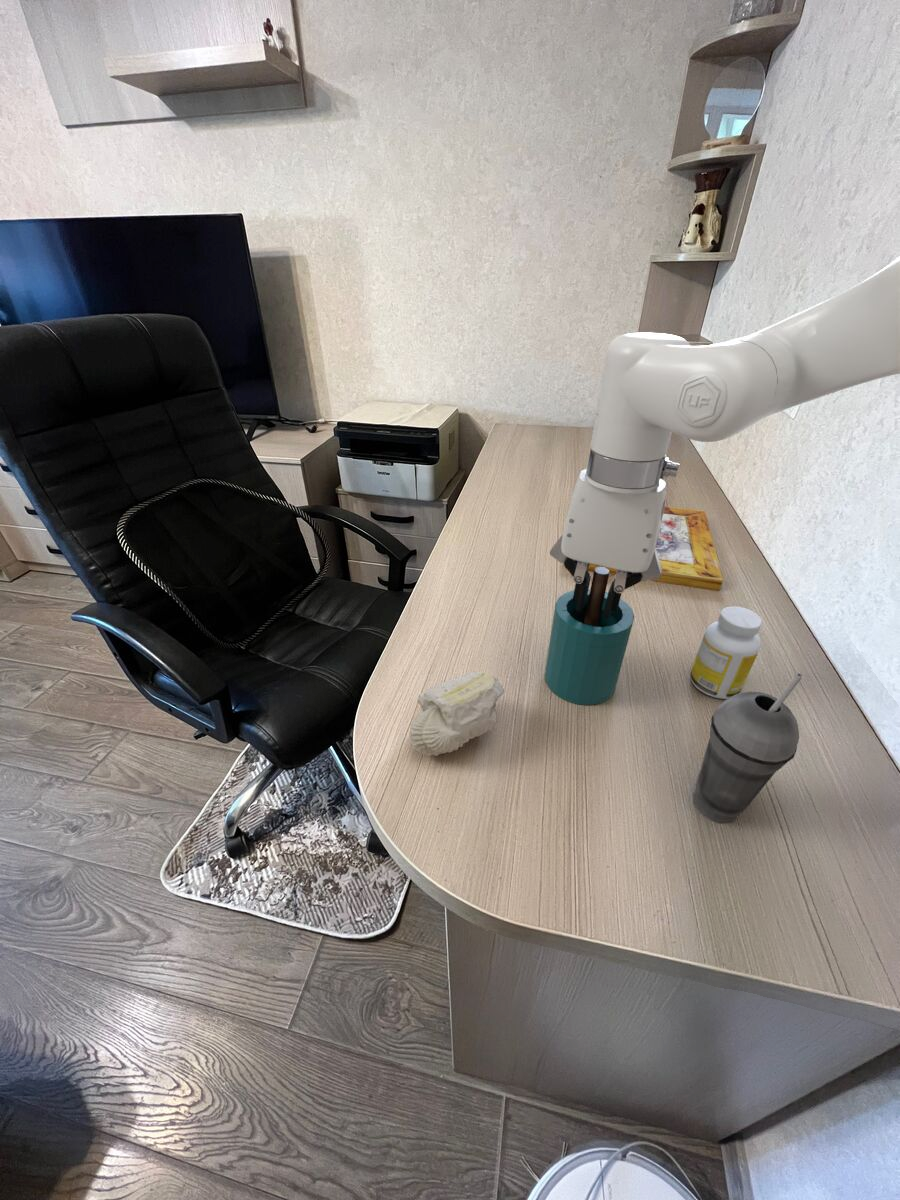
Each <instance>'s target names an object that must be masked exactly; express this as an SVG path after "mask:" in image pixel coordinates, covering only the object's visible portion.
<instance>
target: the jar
mask: <svg viewBox="0 0 900 1200" xmlns="http://www.w3.org/2000/svg"><path fill="white" fill-rule="evenodd" d="M574 590H575V589H574ZM574 590H571V591H567V592H565V593H563V594H562V595H560V596H559V597H558V598H557V600H556V602H555V605H554V611H553V616H552V617H553V618H552V623H551V630H550V637H549V642H548V651H547V657H546V662H545V672H544V679H545V683H546V684H547V686H548V688H549V689H550V690H551V691H552V693H553V694H555V695H556V696H557V697H559V698H560V699H562V700H564V701H567V702H569V703H571V704H575V705H580V706H593V705H599V704H602V703H605V702H606V701H608V700H609V699H611V698H612V696H613V695H614V693H615V691H616V688H617V684H618V680H619V676H620V673H621V669H622V665H623V662H624V658H625V655H626V651H627V646H628V643H629V640H630V635H631V631H632V628H633V625H634V620H635V614H634V611H633V609H632V607H631V606H630V605H629V604H628V603H627V602H626V601H625V600H623V599H622V598H620V602H619V606H618V609H617V611H613V610H611V613H610V616H609V619H605V618H604V617H603V614H604V609H605V605H606V600H607V596H608V592H607V591H606V592H605V596H604V601H603V606H602V610H601V615H600V619H599V624H598V627H593V626H590V625H586V624H584V620H585V614H586V609H587V604H588V599H589V594H590V589H589V590H588V595H587V599H586V602H585V605H584V607H583V610H582V612H581V611H580V612H577V611H576V606H577V602H576V601H573V595H574Z"/></svg>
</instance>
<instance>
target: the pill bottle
mask: <svg viewBox="0 0 900 1200" xmlns="http://www.w3.org/2000/svg"><path fill="white" fill-rule="evenodd" d="M762 624H763V620H762V618H761V617H760V615H758V614H757V613H756V612H755V611H752V609H751V610H750V609H748V608H746V607H741V606H731V605H729V606H726V607H723V608H722V609H721V611H720V613H719V615H718V618H717V621H714V622H712V623H710V624H709V625H708V626H707V628H706V629H705V631H704V634H703V636H702V639H701V642H700V645H699V647H698V651H697V653H696V656H695V659H694V662H693V665H692V667H691V670H690V673H689V674H690V675H689V677H690V680H691V683H692V685H694V687H695V688H696V689H697V690H699V691H700V692H702V693H703V694H704V695H707V696H709V697H712V698H716V699H721V700H723V699H724V700H727V699H728V698H730V697H732V696H733V695H736V694H738V693H741V691H742V689H743V687H744V685H745V683H746V680H747V679H748V676H749V674H750V672H751V670H752V667H753V665H754V664H755V661H756V658H757V657H758V654H759V652H760V650H761V647H762V642H761V641H762V640H761V638H760V636H759V635H758V633H760V629H761V627H762Z"/></svg>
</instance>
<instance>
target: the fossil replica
mask: <svg viewBox="0 0 900 1200" xmlns="http://www.w3.org/2000/svg"><path fill="white" fill-rule="evenodd" d="M504 693H505V688H504V686H503V685H502V684H501V682H500V681H499V680H498V678H497V677H496V676H495V675H494V674H493V673H489V672H481V671H473V672H469V673H467V674H464V675H461V676H458V677H455V678H453V679H450V680H448V681H445V682H441V683H438V684H436V685H434V686H431V687H428V688H427V689H425V691H423V692H422V693H419V694H418V696H417V697H418V698H417V703H418V705H419V706H420V710H421V712H420V713H418V716H416V718H414V719H413V721H412V722H411V724H410V729H409V739H410V745H411V746H412V747H413V749H414V750H415V751H418V752H419V754H421V755H424V754H425V755H426V756H428V757H430V756H435V757H438V756H439V755H441V754H444V755H445V754H446V753H452V752H453V751H458V749H459V747H460V748H463V746H464V744H466V743H469V741H470V740H472V739H475V738H476V737H480V736H482V735H484V734H486V733H487V732H490V731H491V730H493V729H494V727H495V726H496V724H497V722H496V721H497V711H496V706H497V701H498V700H499V699H500V697H502V696H503V695H504Z"/></svg>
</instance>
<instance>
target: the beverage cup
mask: <svg viewBox="0 0 900 1200" xmlns="http://www.w3.org/2000/svg"><path fill="white" fill-rule="evenodd" d="M803 678H804V675H803V674H802V673H801V672H797V673H796V674H795V676H793V678H792V679H791V681H790V682H789V683H788V685H786V687H785V688H784V690H783V691H782V692H781V694H780V695H779V696H778V697H776V696H773V695H771V694H769V693H765V692H761V691H752V690H751V691H749V690H748V691H744V692H740V693H738V694H736V695H733V696H732V697H730V698H728V699H724V701H723V702H721V704H720V705H719V707H718V708H716V710H715V711H714V712H713V713H712V716H711V719H710V720H711V721H710V728H709V739H708V742H707V745H706V749H705V752H704V756H703V759H702V761H701V765H700V769H699V771H698V775H697V779H696V782H695V784H694V785H695V788H694V792H693V794H692V795H693V796H692V797H693V798H692V801H693V804H694V806H695V808H696V809H697V810H698V812H699V813H700V814H701V815H702V816H703V817H705V818H707V819H708V820H709V821H711V822H714V823H717V824H723V825H727V824H732V823H734V822H735V821H736V820H737V819H738V817H740V816H741V815H742V814H743V813H744V812H745V811H746V810H747V808H748V807H750V804H751V803H752V802H753V801H754V800H755V799H756V797H757V796H758V795H759V794H760V792H761V791H762V789H764V787H765V786H766V785H767V783H768V782H769V781H770V780H771V778H772V777H773V776H774V775H775V774H776V773H777V772H778V771H779V770H780V769H782V768H783V767H784V766H785V765H786V764H787V763H789V762H790V761H791V760H793V759H794V758H795V756H796V753H797V751H798V745H799V741H800V730H799V725H798V721H797V718H796V717H795V715H794V713H793V712H792V710H791V708H789V707H788V706H787V705H786V704H785V703H784V702H785V701H786V700H787V698H788V697H789V696H790V695H791V693H792V692H793V691H794V689H795V688H796V687H797V685H798V684H799V683H800V682H801V680H802V679H803Z"/></svg>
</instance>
